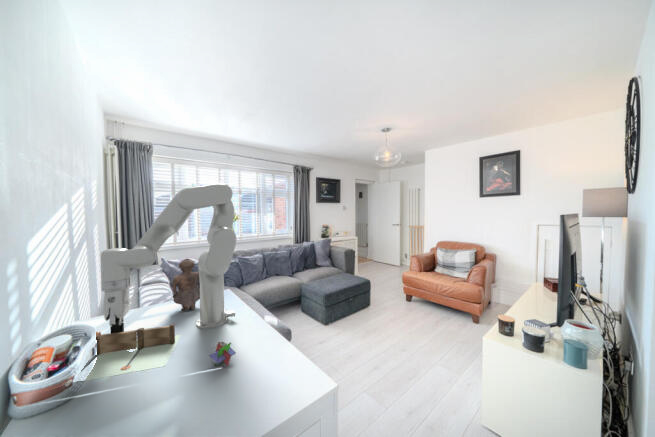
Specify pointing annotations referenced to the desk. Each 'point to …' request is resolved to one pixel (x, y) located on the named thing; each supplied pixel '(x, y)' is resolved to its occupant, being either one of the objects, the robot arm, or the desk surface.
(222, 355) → the geometric puzzle
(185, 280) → the clay figurine
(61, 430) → the desk surface
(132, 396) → the desk surface
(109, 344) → the panel
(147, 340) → the fence fixed section
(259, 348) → the desk surface
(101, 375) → the card
